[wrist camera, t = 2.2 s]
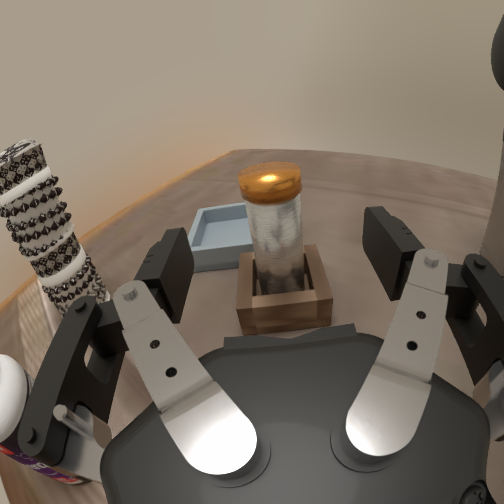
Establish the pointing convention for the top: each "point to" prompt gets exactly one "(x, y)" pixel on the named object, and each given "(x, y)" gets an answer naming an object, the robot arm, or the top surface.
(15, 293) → the top surface
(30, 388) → the pill bottle
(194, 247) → the tray
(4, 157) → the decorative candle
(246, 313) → the square wooden frame
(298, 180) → the glass jar
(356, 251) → the top surface
